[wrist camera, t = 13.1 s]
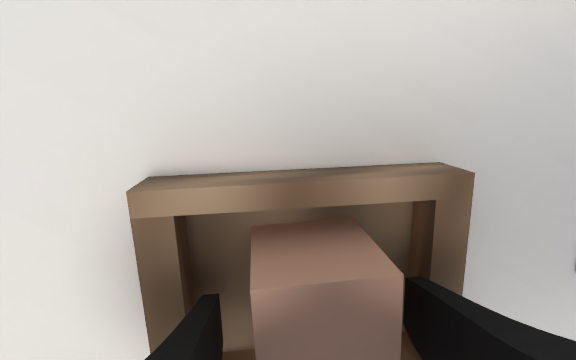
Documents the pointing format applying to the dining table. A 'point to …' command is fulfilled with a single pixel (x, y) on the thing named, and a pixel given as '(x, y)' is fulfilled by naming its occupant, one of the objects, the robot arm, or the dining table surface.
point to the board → (286, 209)
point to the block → (323, 293)
